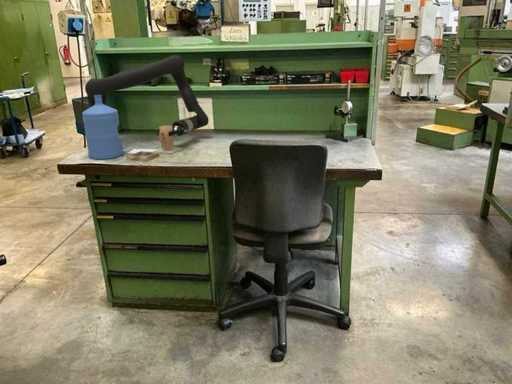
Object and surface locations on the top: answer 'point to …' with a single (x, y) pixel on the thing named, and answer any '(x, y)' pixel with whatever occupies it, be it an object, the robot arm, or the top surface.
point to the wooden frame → (134, 157)
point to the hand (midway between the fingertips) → (163, 133)
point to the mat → (168, 150)
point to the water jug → (102, 131)
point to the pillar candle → (166, 137)
